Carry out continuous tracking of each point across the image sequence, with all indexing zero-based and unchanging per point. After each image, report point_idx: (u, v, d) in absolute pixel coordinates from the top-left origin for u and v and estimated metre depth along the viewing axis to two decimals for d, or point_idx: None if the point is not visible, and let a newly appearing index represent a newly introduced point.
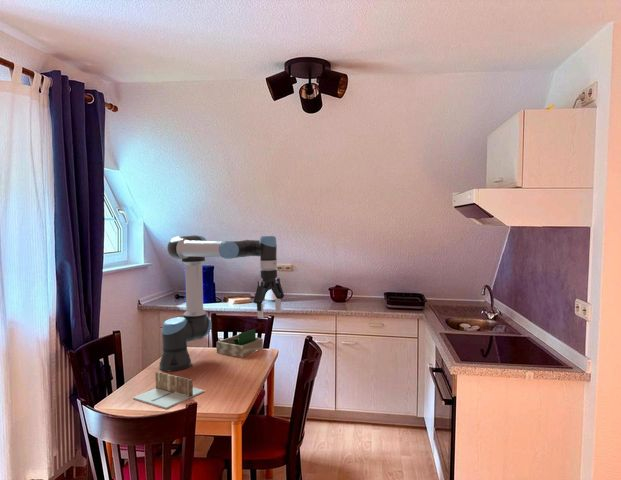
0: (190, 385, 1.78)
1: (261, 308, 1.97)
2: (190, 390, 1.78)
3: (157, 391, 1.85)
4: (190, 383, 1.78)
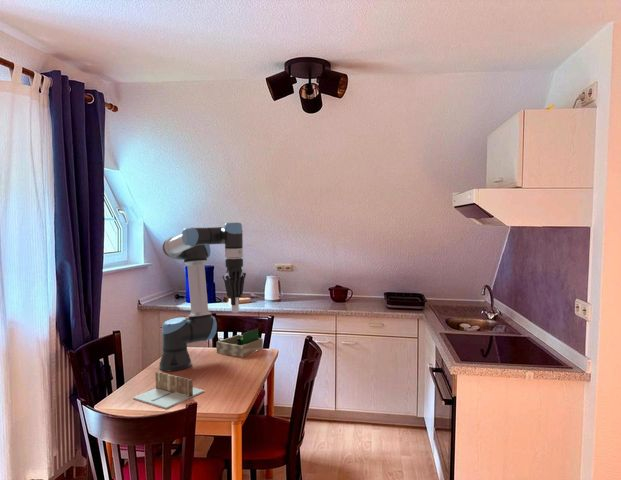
0: (190, 385, 1.78)
1: (235, 302, 1.90)
2: (190, 390, 1.78)
3: (157, 391, 1.85)
4: (190, 383, 1.78)
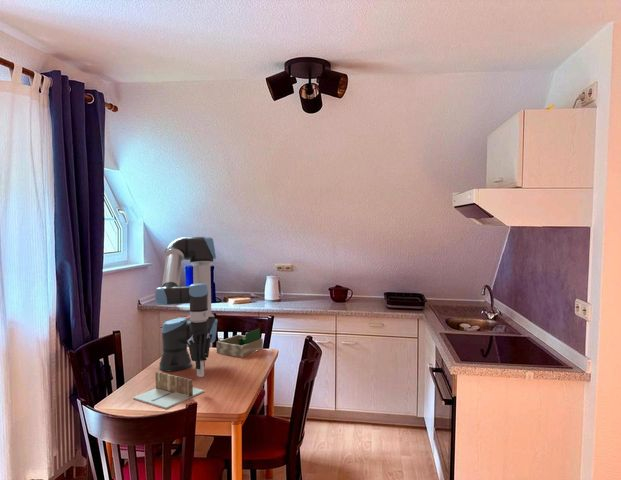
0: (190, 385, 1.78)
1: (200, 366, 1.85)
2: (190, 390, 1.78)
3: (157, 391, 1.85)
4: (190, 383, 1.78)
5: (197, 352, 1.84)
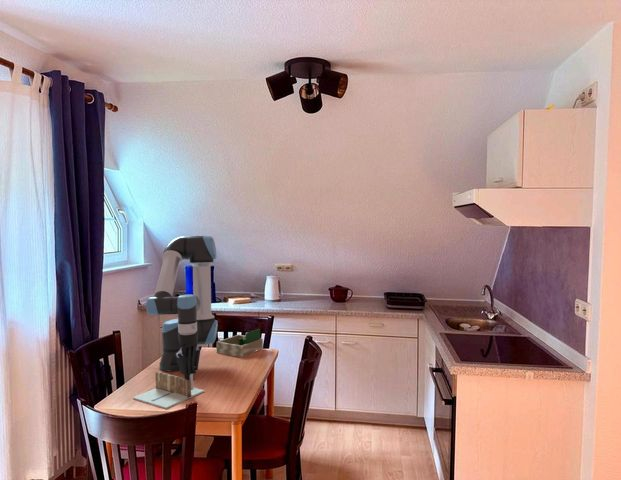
0: (188, 386, 1.77)
1: (190, 379, 1.81)
2: (188, 391, 1.77)
3: (157, 391, 1.85)
4: (188, 384, 1.77)
5: (186, 365, 1.80)
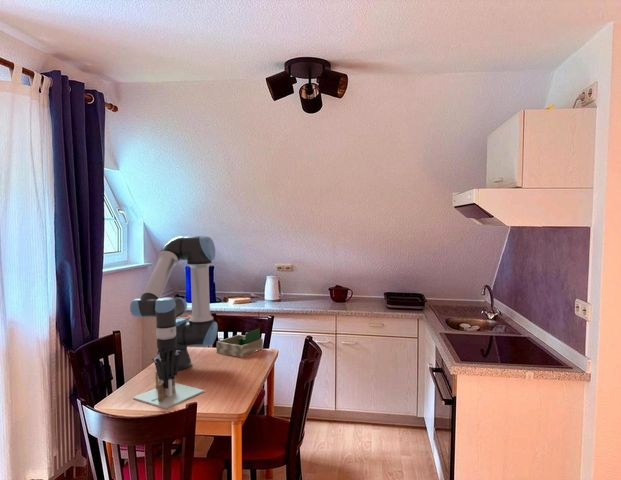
0: (158, 390, 1.73)
1: (168, 385, 1.75)
2: (158, 395, 1.73)
3: (157, 391, 1.85)
4: (158, 388, 1.73)
5: (165, 370, 1.74)
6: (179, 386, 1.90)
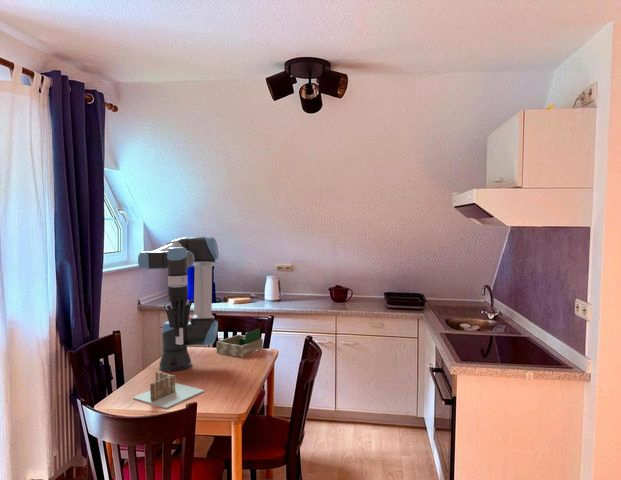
0: (150, 388, 1.75)
1: (179, 333, 1.76)
2: (150, 393, 1.75)
3: None
4: (150, 386, 1.74)
5: (176, 319, 1.76)
6: (179, 386, 1.90)
